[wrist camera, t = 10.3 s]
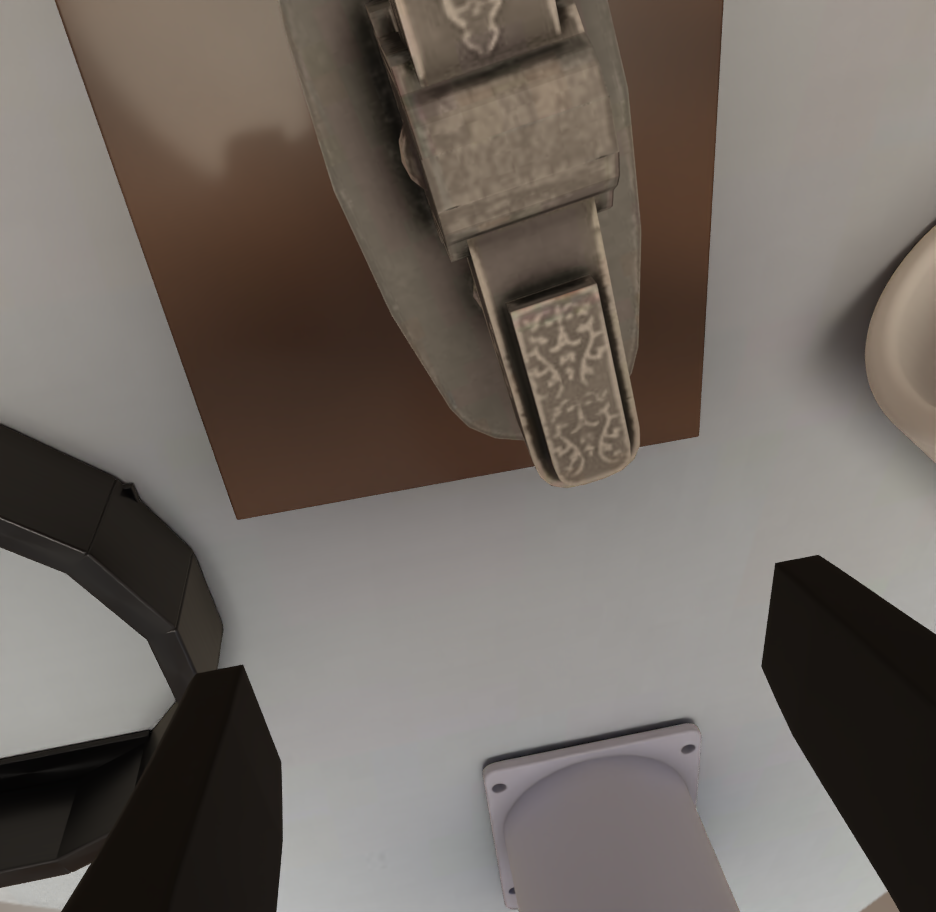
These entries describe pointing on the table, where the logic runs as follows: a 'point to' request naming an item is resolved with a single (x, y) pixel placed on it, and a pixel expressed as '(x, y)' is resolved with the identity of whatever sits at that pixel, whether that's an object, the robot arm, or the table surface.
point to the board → (356, 247)
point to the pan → (132, 599)
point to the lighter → (492, 205)
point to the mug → (907, 346)
